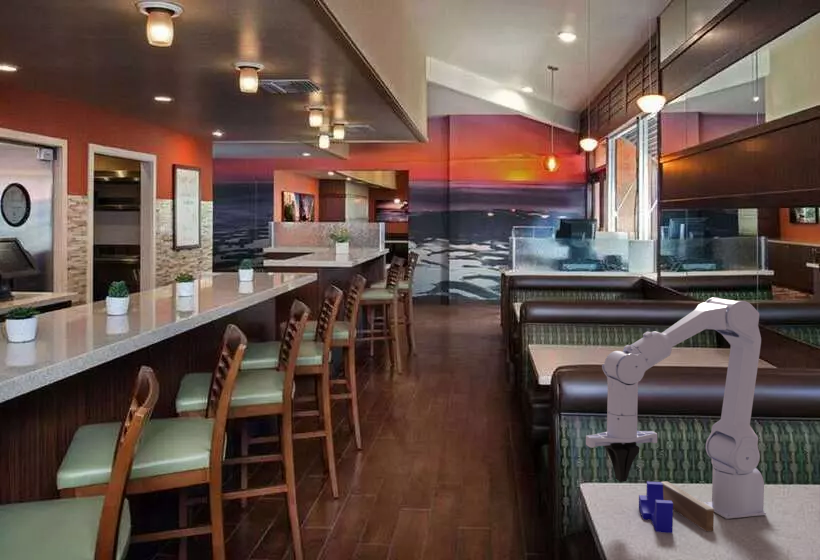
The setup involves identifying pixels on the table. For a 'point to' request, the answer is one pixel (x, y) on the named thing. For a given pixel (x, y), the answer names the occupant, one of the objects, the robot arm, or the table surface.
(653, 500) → the cable clip
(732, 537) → the table surface
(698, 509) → the bar
